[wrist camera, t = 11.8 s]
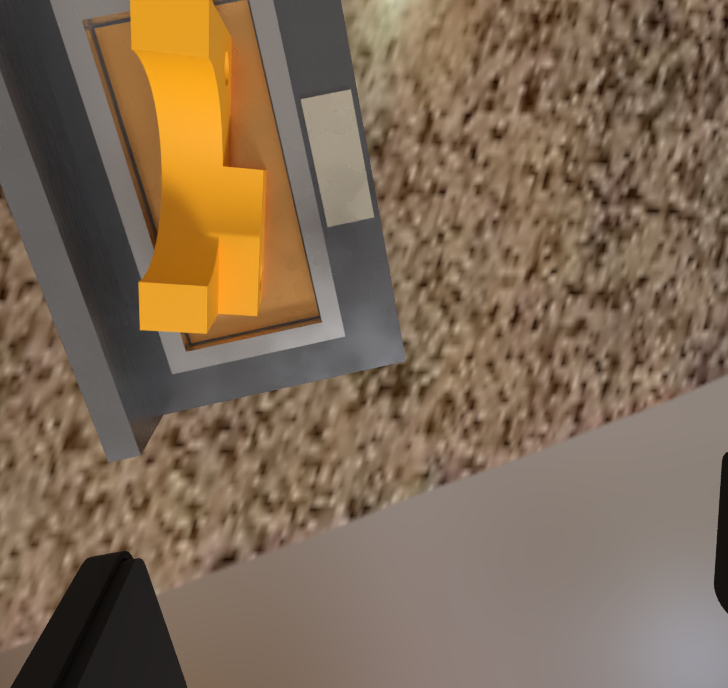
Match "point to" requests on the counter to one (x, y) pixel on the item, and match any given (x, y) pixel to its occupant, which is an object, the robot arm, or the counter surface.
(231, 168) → the orange notched block
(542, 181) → the counter surface
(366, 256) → the grey tray with recess
